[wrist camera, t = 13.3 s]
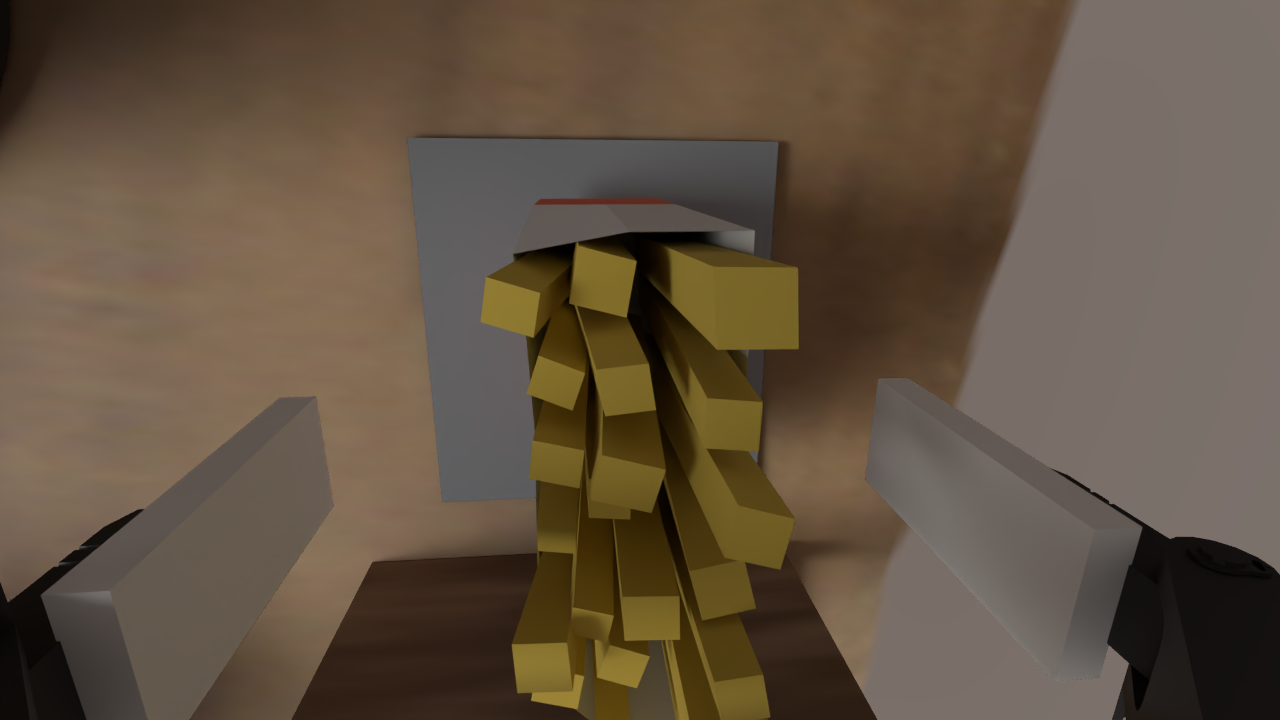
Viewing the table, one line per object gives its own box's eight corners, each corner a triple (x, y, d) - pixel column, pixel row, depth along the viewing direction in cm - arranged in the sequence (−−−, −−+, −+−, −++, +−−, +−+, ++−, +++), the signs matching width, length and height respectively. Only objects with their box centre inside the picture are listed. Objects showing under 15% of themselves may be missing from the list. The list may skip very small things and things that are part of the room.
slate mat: (411, 138, 23) (407, 137, 23) (773, 142, 25) (778, 141, 24) (444, 495, 28) (442, 502, 27) (752, 481, 29) (755, 488, 29)
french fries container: (545, 454, 27) (496, 943, 10) (533, 195, 24) (430, 260, 7) (649, 450, 28) (776, 910, 10) (651, 195, 24) (837, 255, 7)
